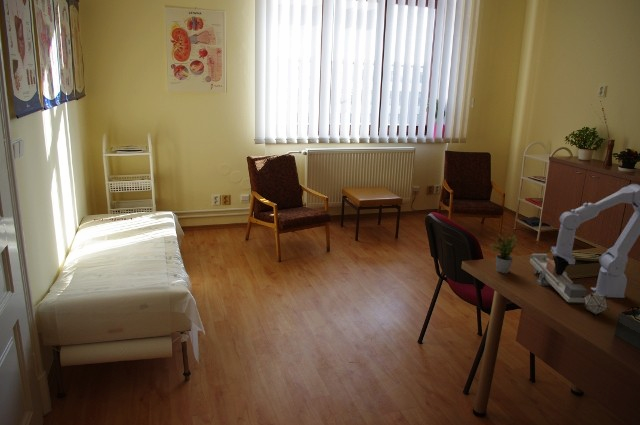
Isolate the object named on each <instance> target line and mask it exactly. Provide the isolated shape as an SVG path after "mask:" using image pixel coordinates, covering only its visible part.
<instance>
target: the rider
mask: <svg viewBox="0 0 640 425" xmlns="http://www.w3.org/2000/svg"><path fill="white" fill-rule="evenodd" d="M546 269H547V270H548V271H549V272H550V273H551V274H552V275H553V276H554V277H560V275H557V274H556V269H555V262H554V259H549V260H548V261H547V265H546Z"/></svg>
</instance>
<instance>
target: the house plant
mask: <svg viewBox="0 0 640 425" xmlns="http://www.w3.org/2000/svg"><path fill="white" fill-rule="evenodd" d="M498 236H499V238H500V241H499V240H498V239H497V238H495V237H491V236H490V238H492V240H495V242H496V244H497V245H494V244H488V245H489V247H492V249H491V253H492V252H498V254H496V255H495V271H496V272H498V273H502V274H508V273H509V272H510V269H511V268H512V267H511V266H512V263H513V260H514V258H513V257H512V254H513V252H514V249H515V248H516V247H517V246H518V242H519V240H517V239H516V237H517V235H513V236H512V237H511V236H509V237H508V239H507V240H505V238H504V237H503V236H502V235H501V234H500V233H498ZM516 252H518V253H521V251H519V250H516V251H515V253H516ZM499 253H500V254H499Z"/></svg>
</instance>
